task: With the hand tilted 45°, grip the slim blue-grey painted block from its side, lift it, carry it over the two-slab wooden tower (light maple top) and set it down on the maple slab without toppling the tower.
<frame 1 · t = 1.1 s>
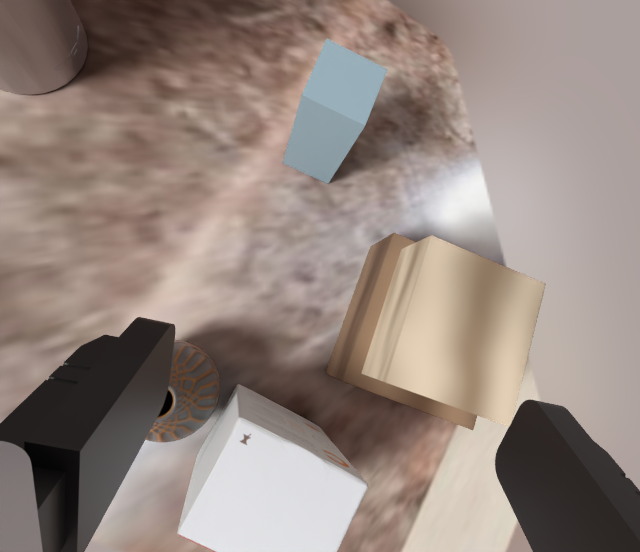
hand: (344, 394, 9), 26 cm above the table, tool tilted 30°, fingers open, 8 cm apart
tower top: (434, 329, 32), point 6 cm above the table, touching tower base
block: (314, 152, 38), on the table
vase: (177, 382, 33), on the table
tower base: (402, 330, 37), on the table, touching tower top
small box: (260, 439, 34), on the table
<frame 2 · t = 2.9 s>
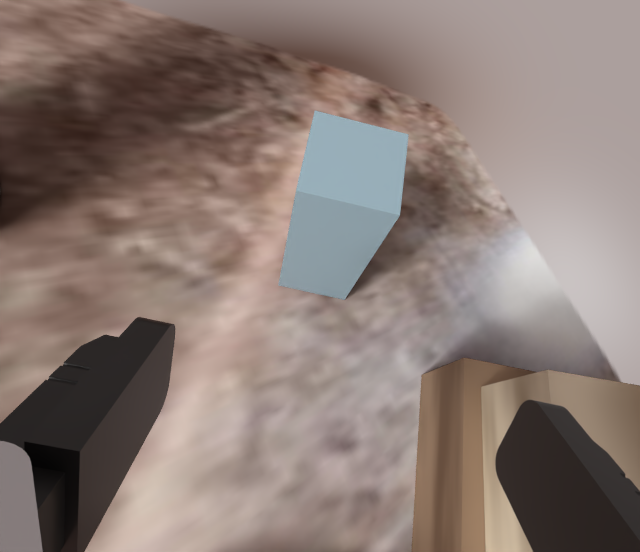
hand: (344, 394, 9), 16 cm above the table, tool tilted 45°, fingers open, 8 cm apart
tower top: (574, 511, 19), point 6 cm above the table, touching tower base
block: (317, 262, 28), on the table
tower base: (501, 492, 25), on the table, touching tower top
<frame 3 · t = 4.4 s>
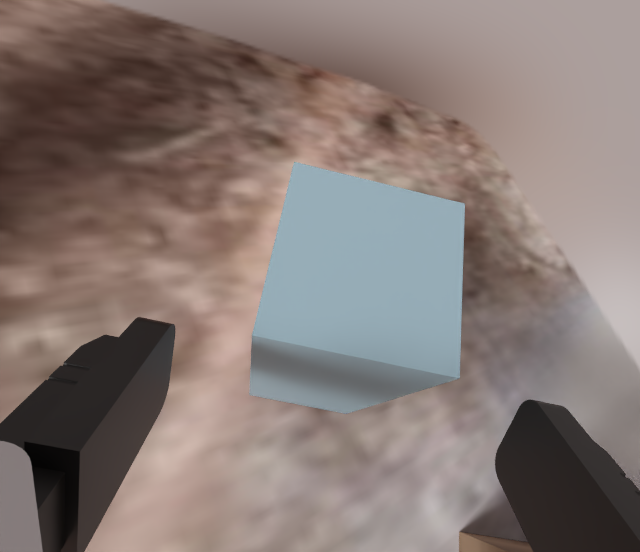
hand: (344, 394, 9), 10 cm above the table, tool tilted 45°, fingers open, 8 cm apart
block: (307, 356, 20), on the table
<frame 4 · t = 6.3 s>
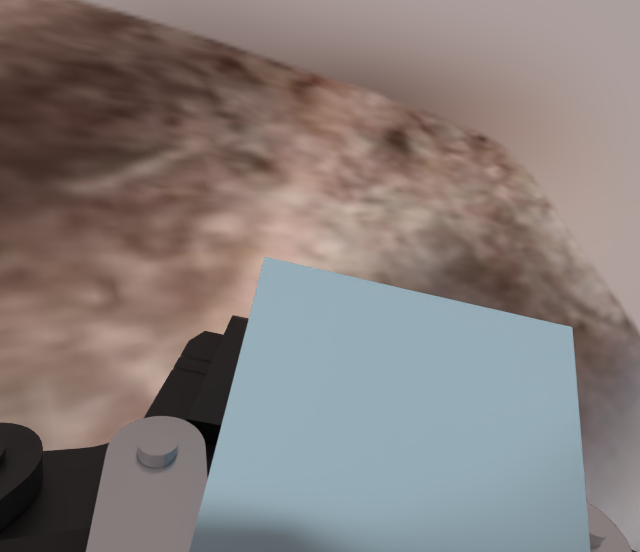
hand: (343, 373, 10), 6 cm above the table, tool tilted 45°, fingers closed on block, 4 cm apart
block: (300, 453, 15), on the table, touching gripper
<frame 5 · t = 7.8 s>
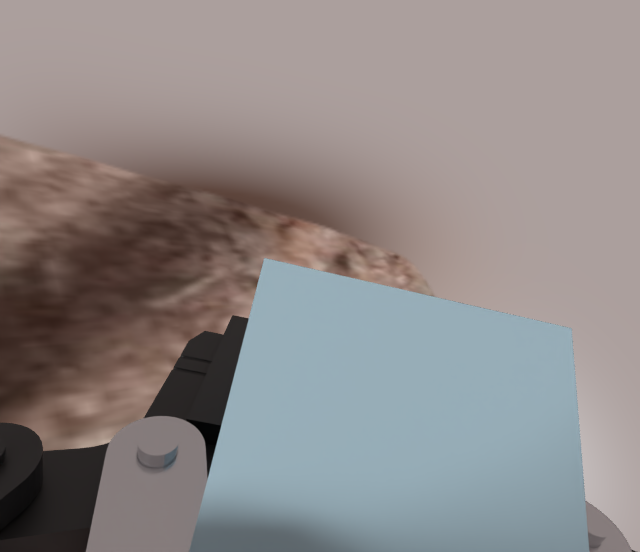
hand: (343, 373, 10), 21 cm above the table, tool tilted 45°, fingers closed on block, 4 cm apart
block: (300, 453, 15), point 15 cm above the table, touching gripper
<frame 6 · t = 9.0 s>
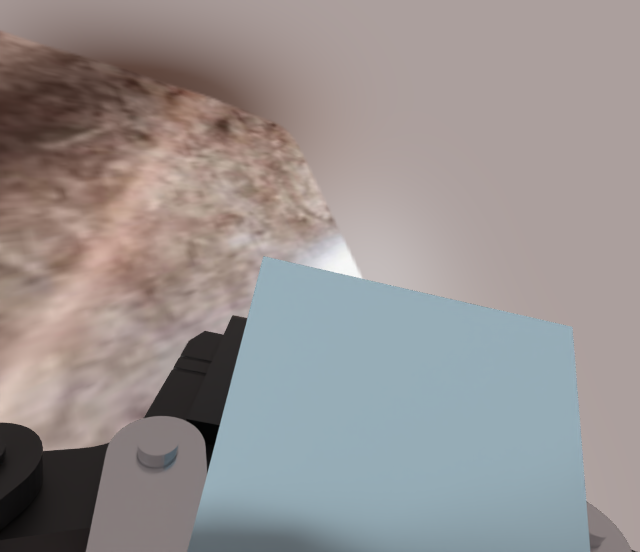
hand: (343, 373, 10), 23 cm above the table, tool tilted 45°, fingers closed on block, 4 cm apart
block: (299, 453, 15), point 16 cm above the table, touching gripper
when the fingers open (18 cm above the table, at t = 10.5 s): block drops 1 cm, resting on tower top.
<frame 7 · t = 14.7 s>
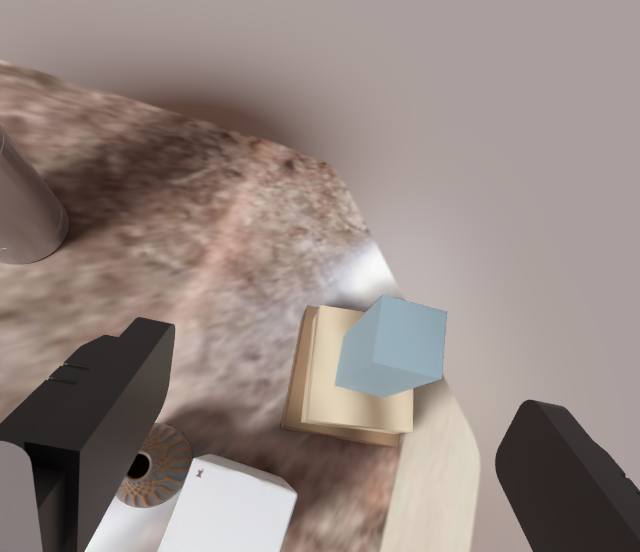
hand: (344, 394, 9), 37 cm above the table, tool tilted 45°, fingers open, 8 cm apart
tower top: (351, 375, 41), point 6 cm above the table, touching block, tower base
block: (363, 366, 36), point 11 cm above the table, touching tower top
vase: (159, 462, 40), on the table
tower base: (338, 381, 46), on the table, touching tower top
small box: (234, 499, 40), on the table
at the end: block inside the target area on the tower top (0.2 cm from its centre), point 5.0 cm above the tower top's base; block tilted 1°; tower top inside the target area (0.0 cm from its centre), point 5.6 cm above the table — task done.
